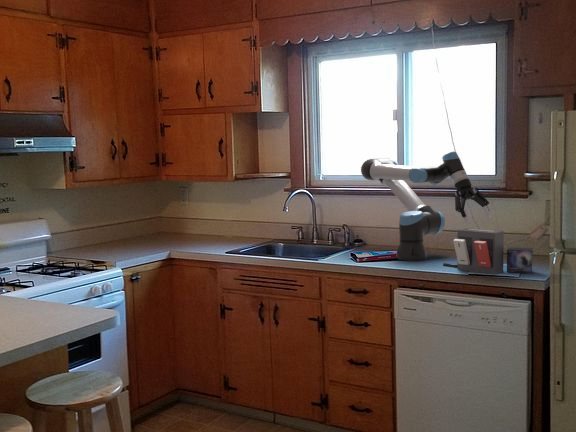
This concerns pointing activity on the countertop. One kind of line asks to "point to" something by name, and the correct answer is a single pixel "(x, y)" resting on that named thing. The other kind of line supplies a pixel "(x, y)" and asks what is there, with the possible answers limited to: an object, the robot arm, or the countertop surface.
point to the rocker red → (482, 253)
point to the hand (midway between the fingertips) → (479, 221)
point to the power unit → (494, 249)
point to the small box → (519, 260)
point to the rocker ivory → (461, 251)
